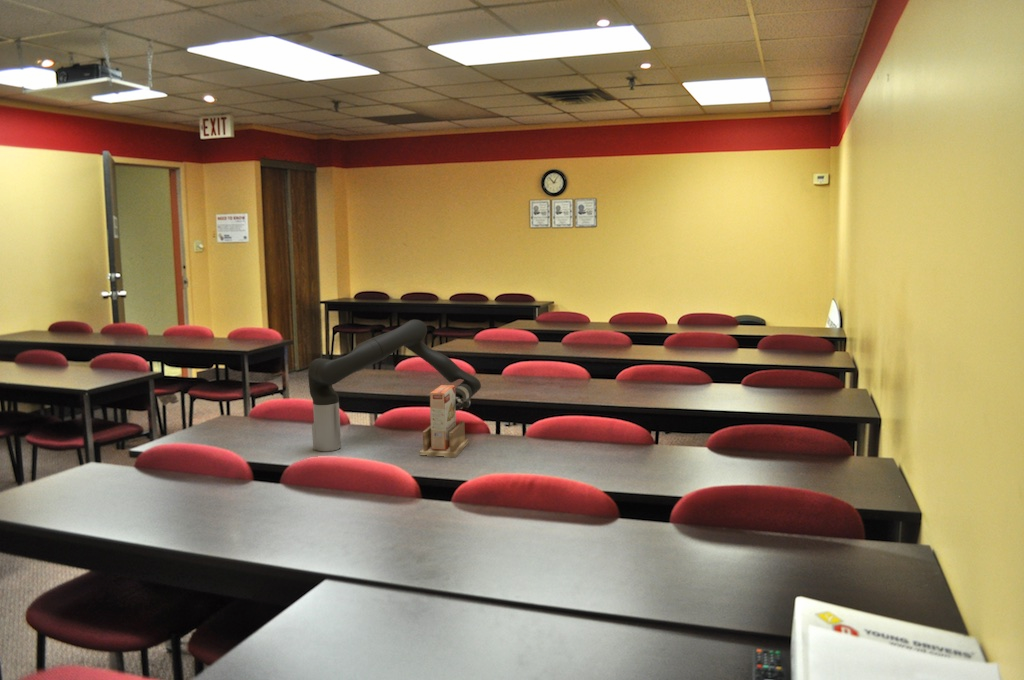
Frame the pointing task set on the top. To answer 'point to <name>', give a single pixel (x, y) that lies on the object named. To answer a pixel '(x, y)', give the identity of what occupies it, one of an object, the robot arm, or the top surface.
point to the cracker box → (442, 416)
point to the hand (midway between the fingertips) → (445, 407)
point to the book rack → (455, 440)
